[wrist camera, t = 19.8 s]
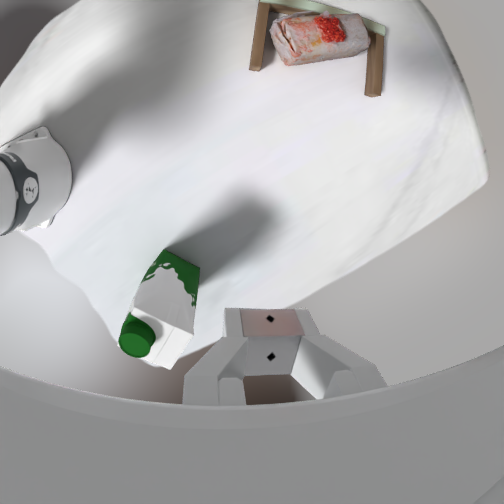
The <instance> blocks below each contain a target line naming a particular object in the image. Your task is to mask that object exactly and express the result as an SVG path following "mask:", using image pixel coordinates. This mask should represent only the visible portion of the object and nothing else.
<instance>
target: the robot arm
mask: <svg viewBox="0 0 504 504" xmlns="http://www.w3.org/2000/svg"><path fill="white" fill-rule="evenodd" d="M37 134H38V137H37ZM71 184H72V171H71V165H70V161H69V158H68V156H67V154H66V152H65V151H64V149H63V148H62V147H61V146H60V145H59V144H58V143H57V142H56V141H54V140H53V139H52V137H51V135H50V133H49V131H48V129H47V128H46V127H40V128H38V129H35V130H33V131H31V132H29V133H27V134H25V135H23V136H21V137H19V138H17V139H15V140H13V141H11V142H9V143H7V144H5V145H4V146H2V147H0V236H2V235H6V234H8V233H11V232H12V231H14V230H21V231H22V232H25V231H27V230H29V229H31V228H33V227H35V226H36V227H40V228H43V229H45V228H47V227H49V226H50V224H51V222H52V220H53V217H54V215H55V214H56V213H57V212H58V211H59V210H60V209H61V208H62V207H63V206H64V204H65V203H66V201H67V199H68V197H69V194H70V190H71ZM275 374H277V375H278V374H291V375H292V377H294V378H295V379H296V380H297V381H298V382H299V383H300V384H301V385H302V386H303V387H304V388H306V390H307V391H309V392H310V393H311V394H312V395H313V396H314V397H315V398H316V399H317V400H310V401H301V402H292V403H280V404H266V405H246V400H245V394H244V387H243V381H242V379H243V378H244V376H254V375H275ZM0 504H504V345H503V346H501V347H499V348H497V349H495V350H493V351H490V352H488V353H486V354H484V355H481V356H479V357H477V358H474V359H472V360H469V361H467V362H464V363H462V364H459V365H456V366H453V367H451V368H448V369H445V370H442V371H439V372H436V373H433V374H430V375H427V376H424V377H420V378H417V379H414V380H411V381H407V382H403V383H399V384H396V385H392V386H387V384H386V382H385V381H384V379H383V377H382V376H381V374H380V372H379V371H378V369H377V367H376V366H375V365H374V364H373V363H371V362H369V361H368V360H366V359H364V358H363V357H361V356H359V355H358V354H355V353H354V352H352V351H351V350H349V349H347V348H346V347H344V346H342V345H341V344H339V343H337V342H336V341H334V340H332V339H331V338H329V337H327V336H326V335H320V333H319V331H318V329H317V327H316V325H315V323H314V321H313V319H312V317H311V315H310V313H309V311H308V309H306V308H294V309H250V308H225V309H224V320H223V337H222V338H221V339H220V340H219V341H218V342H217V343H216V344H215V345H214V346H213V347H212V348H211V349H210V350H209V351H208V352H207V353H206V354H205V355H204V356H203V357H202V359H200V360H199V361H198V363H196V364H195V366H193V368H192V369H191V370H190V371H189V372H188V373H187V374H186V375H185V377H184V390H183V403H182V404H168V403H157V402H148V401H139V400H132V399H125V398H118V397H112V396H106V395H100V394H95V393H90V392H85V391H81V390H77V389H72V388H68V387H64V386H60V385H57V384H53V383H49V382H46V381H43V380H39V379H36V378H32V377H29V376H26V375H24V374H20V373H18V372H15V371H12V370H10V369H7V368H4V367H2V366H0Z"/></svg>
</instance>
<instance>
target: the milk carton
mask: <svg viewBox="0 0 504 504" xmlns="http://www.w3.org/2000/svg"><path fill="white" fill-rule="evenodd" d="M199 272H200V268H198V267H196V266H195V265H193V264H191V263H189V262H187V261H185V260H183V259H181V258H180V257H178V256H176V255H174V254H172V253H170V252H168V251H167V250H165V249H164V250H163V251H162V252H161V253H160V255H159V256H158V257H157V259H156V260H155V261H154V262H153V264H152V265H151V266H150V268H149V269H148V271H147V273H146V274H145V276H144V278H143V280H142V282H141V284H140V286H139V288H138V290H137V292H136V294H135V296H134V298H133V300H132V302H131V305H130V308H129V311H128V313H127V316H126V319H125V321H124V323H123V326H122V329H121V334H120V337H119V341H118V344H117V345H118V347H120V348H121V349H122V350H123V351H124V352H125V353H126V354H128V355H130V356H132V357H136V358H142V359H145V360H146V361H148V362H150V363H155V364H158V365H160V366H162V367H165V368H167V369H169V370H170V369H171V368H172V367H173V365H174V364H175V362H176V361H177V359H178V358H179V357H180V355H181V354H182V352H183V351H184V349H185V348H186V346H187V345H188V343H189V342H190V340H191V339H192V338H193V336H194V329H193V326H194V317H195V309H196V301H197V293H198V283H199Z"/></svg>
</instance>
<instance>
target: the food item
mask: <svg viewBox="0 0 504 504" xmlns="http://www.w3.org/2000/svg"><path fill="white" fill-rule="evenodd" d="M311 12H313V11H304V12H296V13H294V14H292V15H288V16H284V17H281V18H280V19H275V20H274V21H273V24H272V26H271V28H270V30H269V31H270V34H271V38H272V40H273V44H274V46H275V48H276V50H277V52H278V54H279V55H280V57H281V60H282V61H283V62H284V64H285V65H288V66H291V65H301V64H308V63H315V62H321V61H325V60H333V59H337V58H347V57H352V56H355V55H357V54H358V53H360V52H361V51H363V50H366V48H369V45H370V43H371V40H370V36H369V35H368V31H367V27H366V25H365V23H364V21H363V19H362V17H361V16H360V15H359V14H329V12H328V11H324V12H323V13H322V14H323V15H322V14H320V15H313V16H312V15H310V16H305V15H302V14H304V13H311Z"/></svg>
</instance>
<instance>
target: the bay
mask: <svg viewBox="0 0 504 504" xmlns="http://www.w3.org/2000/svg"><path fill="white" fill-rule="evenodd" d="M269 11H272V12H278V13H283V14H288V15H292V14H294V13H296V12H304V11H313V12H311V13H304V14H302V15H305V16H310V15H312V16H313V15H320V14H322V13H323V12H324V11H328V12H329V14H352V13H349V12H346V11H343V10H340V9H337V8H334V7H331V6H327V5H324V4H320V3H316V2H312V1H308V0H259V4H258V10H257V17H256V24H255V31H254V38H253V45H252V52H251V59H250V67H249V70H252V71H259V70H260V68H261V66H262V58H263V50H264V43H265V35H266V28H267V20H268V13H269ZM322 15H323V14H322ZM362 19H363V21H364V23H365V25H366V27H367V31H368V35H369V36H370V40H371V43H370V45H369V48H368V54H367V70H366V84H365V95H366V96H369V97H377V96H381V87H382V72H383V48H384V36H385V26H383V25H381V24H378V23H376V22H373V21H371V20H368V19H366V18H363V17H362Z"/></svg>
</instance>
